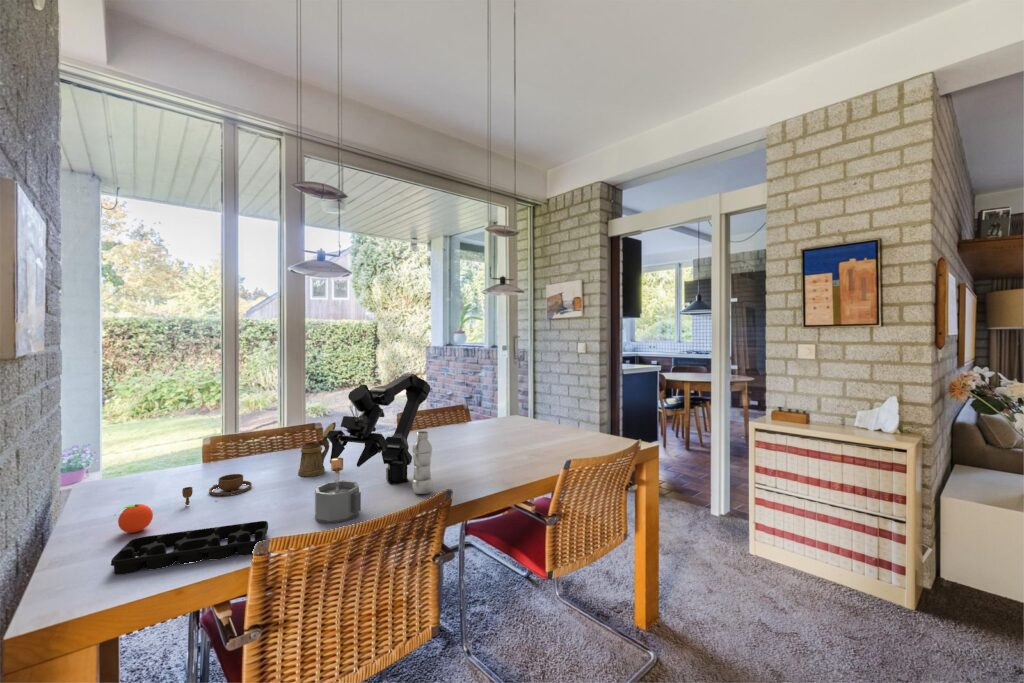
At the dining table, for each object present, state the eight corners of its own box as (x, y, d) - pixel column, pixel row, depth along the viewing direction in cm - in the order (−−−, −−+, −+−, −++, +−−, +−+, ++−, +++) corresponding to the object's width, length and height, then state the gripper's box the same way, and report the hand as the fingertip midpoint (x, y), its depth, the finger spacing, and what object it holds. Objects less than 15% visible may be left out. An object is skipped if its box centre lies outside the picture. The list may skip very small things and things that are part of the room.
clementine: (107, 540, 109) (107, 511, 109) (119, 529, 116) (119, 502, 116) (147, 534, 113) (147, 507, 113) (156, 524, 119) (156, 498, 119)
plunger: (334, 488, 131) (334, 454, 131) (358, 491, 129) (358, 456, 129) (314, 498, 123) (314, 461, 123) (339, 502, 121) (339, 464, 121)
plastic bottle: (415, 498, 140) (415, 435, 140) (409, 491, 146) (410, 431, 146) (434, 494, 143) (435, 433, 143) (428, 488, 149) (429, 429, 149)
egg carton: (118, 556, 103) (118, 540, 103) (265, 525, 120) (265, 512, 120) (104, 592, 88) (104, 574, 88) (273, 552, 105) (273, 536, 105)
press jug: (333, 505, 133) (333, 478, 133) (370, 510, 130) (370, 483, 130) (305, 520, 122) (305, 491, 122) (344, 526, 119) (345, 497, 118)
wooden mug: (340, 470, 167) (340, 423, 167) (302, 478, 158) (303, 428, 158) (331, 465, 174) (331, 420, 174) (294, 472, 164) (294, 424, 164)
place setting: (258, 494, 143) (258, 476, 143) (182, 510, 130) (182, 491, 129) (244, 481, 156) (244, 464, 156) (174, 495, 142) (174, 476, 142)
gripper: (330, 403, 137) (303, 447, 126) (382, 406, 131) (359, 452, 121) (346, 424, 144) (322, 467, 134) (396, 428, 139) (375, 473, 128)
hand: (344, 464), depth 129 cm, fingers open, 9 cm apart
